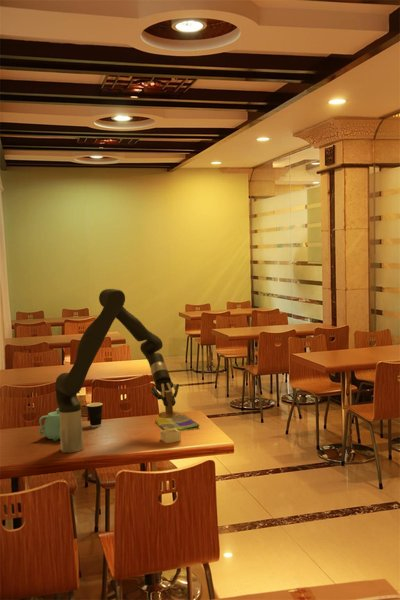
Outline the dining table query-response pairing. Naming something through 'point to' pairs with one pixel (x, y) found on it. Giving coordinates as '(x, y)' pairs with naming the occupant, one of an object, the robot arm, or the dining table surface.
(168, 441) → the beige square base
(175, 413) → the brown post on base
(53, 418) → the decorative pot
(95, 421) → the dixie cup
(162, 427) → the dish towel
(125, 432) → the dining table surface
